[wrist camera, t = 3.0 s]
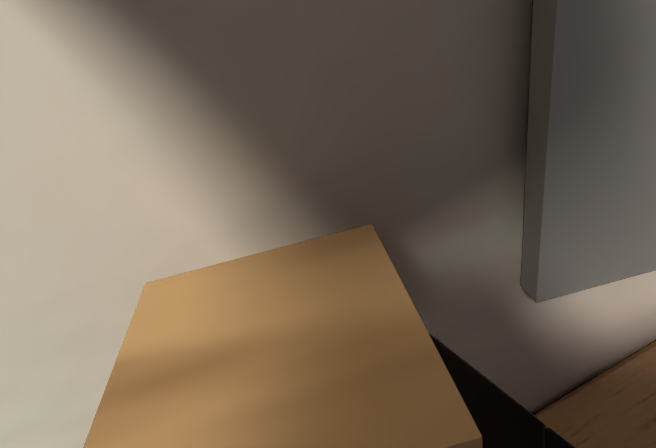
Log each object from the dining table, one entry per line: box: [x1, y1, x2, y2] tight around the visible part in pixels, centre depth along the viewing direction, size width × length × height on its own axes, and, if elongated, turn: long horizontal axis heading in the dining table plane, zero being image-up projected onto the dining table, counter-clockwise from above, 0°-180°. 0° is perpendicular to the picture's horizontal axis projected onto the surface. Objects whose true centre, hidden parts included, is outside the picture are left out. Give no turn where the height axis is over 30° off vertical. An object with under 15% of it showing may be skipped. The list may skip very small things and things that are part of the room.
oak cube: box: [83, 224, 483, 448], centre depth 8 cm, size 5×5×5 cm
